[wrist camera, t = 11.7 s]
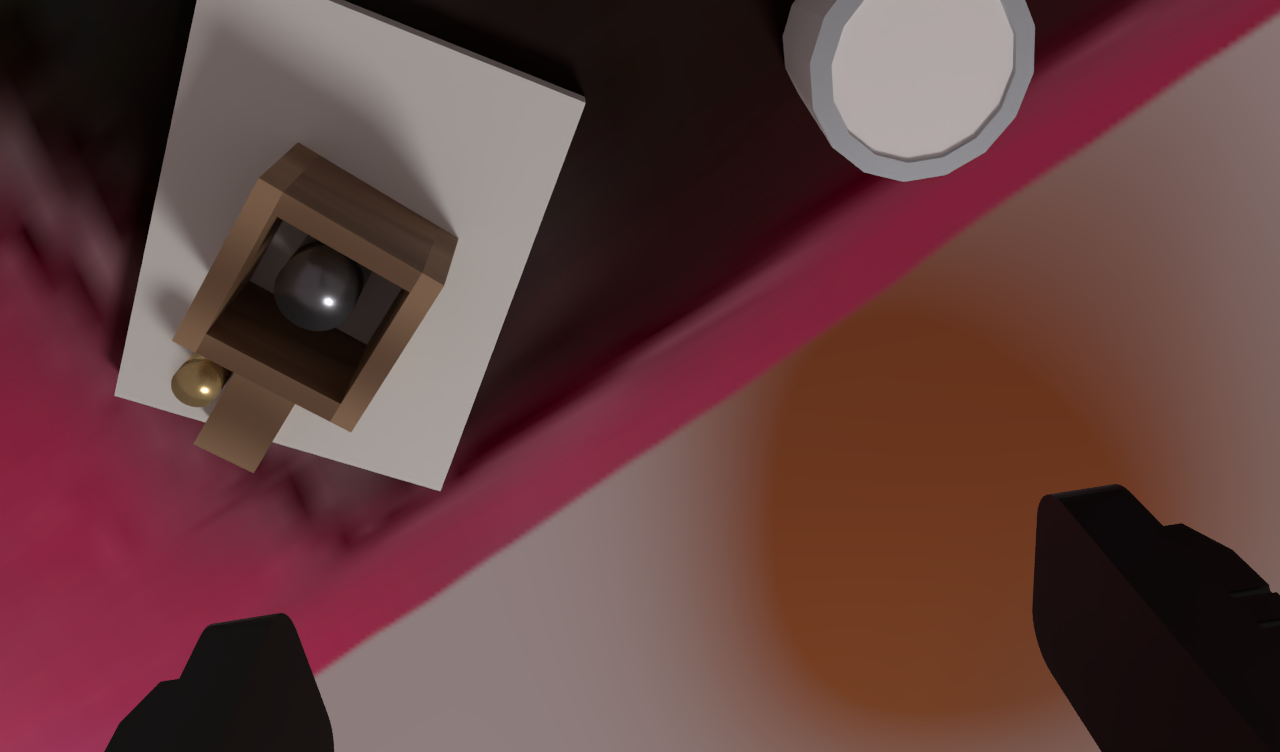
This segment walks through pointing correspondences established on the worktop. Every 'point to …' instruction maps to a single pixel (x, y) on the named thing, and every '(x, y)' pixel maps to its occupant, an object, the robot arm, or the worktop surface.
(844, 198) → the worktop surface
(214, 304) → the open wooden box
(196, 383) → the dowel
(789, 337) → the worktop surface
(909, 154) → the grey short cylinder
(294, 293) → the post
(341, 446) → the board
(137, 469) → the worktop surface
